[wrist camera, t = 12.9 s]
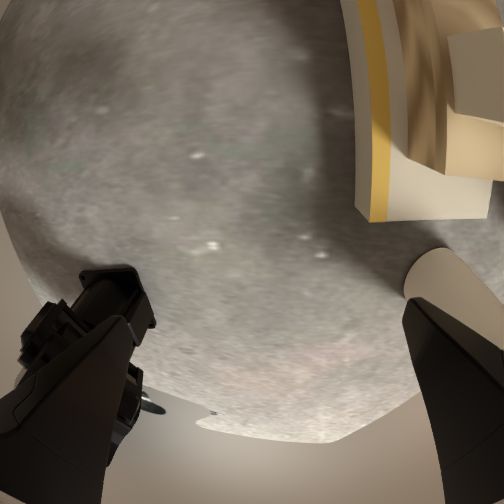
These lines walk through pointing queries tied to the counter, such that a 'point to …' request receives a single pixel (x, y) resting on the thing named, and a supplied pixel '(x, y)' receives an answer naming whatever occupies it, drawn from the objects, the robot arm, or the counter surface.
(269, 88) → the counter surface
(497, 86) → the cream block
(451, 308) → the can
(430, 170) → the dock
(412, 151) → the tan wooden block
